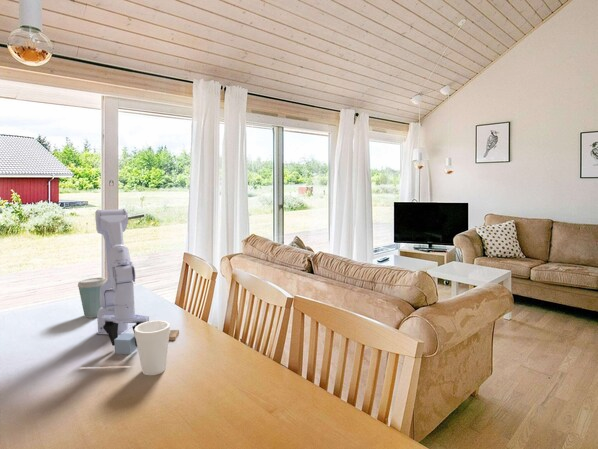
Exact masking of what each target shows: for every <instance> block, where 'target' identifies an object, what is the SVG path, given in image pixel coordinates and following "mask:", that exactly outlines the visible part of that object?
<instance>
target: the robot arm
mask: <svg viewBox="0 0 598 449" xmlns="http://www.w3.org/2000/svg"><path fill="white" fill-rule="evenodd" d="M94 214H95V216H94V217H95V225H96V226H95V228H96V232H97V233H98V234H100V235H102V236H103V238H104V242H105V243H104V245H105V257H106V258H105V260H106V261H105V262H106V273H107V279H106V280H107V281H106V282H105V283H104V284H102V285H101V287H100V304H101V308H100V309H99V311H98V315H97V317H96V318H97V332H96V334H97V335H107V336H108V337H109V339H110V342H111V345H112V347H113V346H114V347H115V343H114V339H116V338H117V337H118V336H119V335H121V334H122V333H126V332H127V331H129V330H130V329H132V331H133V334H134V335H135V332H134V329H135V327H136V326H137V325H139V324H141V323H144V322H148V321H150V316H147V315H140V314H136V311H135V309H136V308H135V286H134V284H135V282H136V269H135V266H134V263H133V261H131V257H130V252H129V248H128V247H127V246H126V245H124V233H125V231H126V230H127V226H128V225H129V215H128V214H129V213H128V211H127V209H126V208H123V209H122V208H119V209H118V208H117V209H116V208H115V209H97V210H96V211H95V213H94ZM133 324H134V325H133ZM135 345H136V346H137V342H136V338H135Z"/></svg>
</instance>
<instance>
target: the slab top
mask: <svg viewBox="0 0 598 449" xmlns="http://www.w3.org/2000/svg"><path fill="white" fill-rule="evenodd" d="M179 334H180V329H170V334H169V340H174V341H176V339H177V338H178V337H179V336H178V335H179ZM177 336H178V337H177Z"/></svg>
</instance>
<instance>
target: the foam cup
mask: <svg viewBox="0 0 598 449" xmlns="http://www.w3.org/2000/svg"><path fill="white" fill-rule="evenodd" d="M170 330H171V323H170V322H168V321H165V320H149V321H148V322H144V323H141V324H139V325H137V326H136V327H135V329H134V331H133V333H134V332H135V338H136V342H137V347H138V348H137V352H138V356H139V361H140V367H141V371H142V373H143V375H146V376H156V375H161V373H164V372H165V371H166V368H167V362H168V361H167V360H168V351H169V350H168V349H169V342H170V341H169V334H170Z"/></svg>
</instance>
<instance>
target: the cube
mask: <svg viewBox="0 0 598 449" xmlns="http://www.w3.org/2000/svg"><path fill="white" fill-rule="evenodd" d="M114 343H115V346H114V354H121V355H124V354H125V355H131V354H132V353H133V352H135V351H136V350H138V347H137V346H136V345H135V335H134V333H126V332H125V333H122V334H119V335H118V337H117V338H116V339H114Z"/></svg>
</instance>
